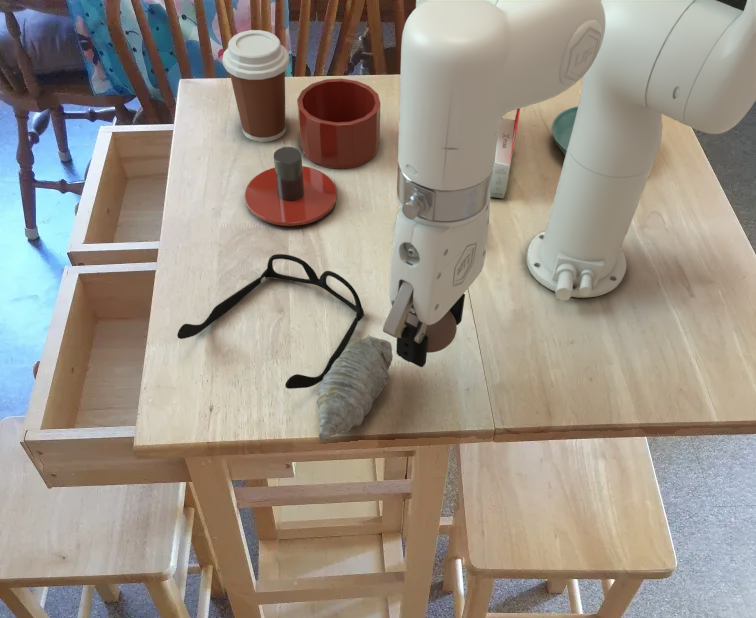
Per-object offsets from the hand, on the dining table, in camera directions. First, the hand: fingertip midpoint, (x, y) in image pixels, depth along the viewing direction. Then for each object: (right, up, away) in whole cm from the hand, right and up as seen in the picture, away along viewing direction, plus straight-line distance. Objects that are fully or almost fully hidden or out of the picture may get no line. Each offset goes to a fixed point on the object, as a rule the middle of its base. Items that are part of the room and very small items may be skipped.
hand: (429, 337), depth 72 cm
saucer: (+27, +35, +33) cm, 55 cm away
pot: (-11, +36, +32) cm, 49 cm away
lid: (-17, +25, +24) cm, 39 cm away
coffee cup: (-22, +39, +33) cm, 56 cm away
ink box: (+12, +30, +29) cm, 43 cm away
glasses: (-17, +6, +7) cm, 19 cm away
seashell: (-10, -3, +1) cm, 11 cm away
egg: (0, 0, +1) cm, 1 cm away
